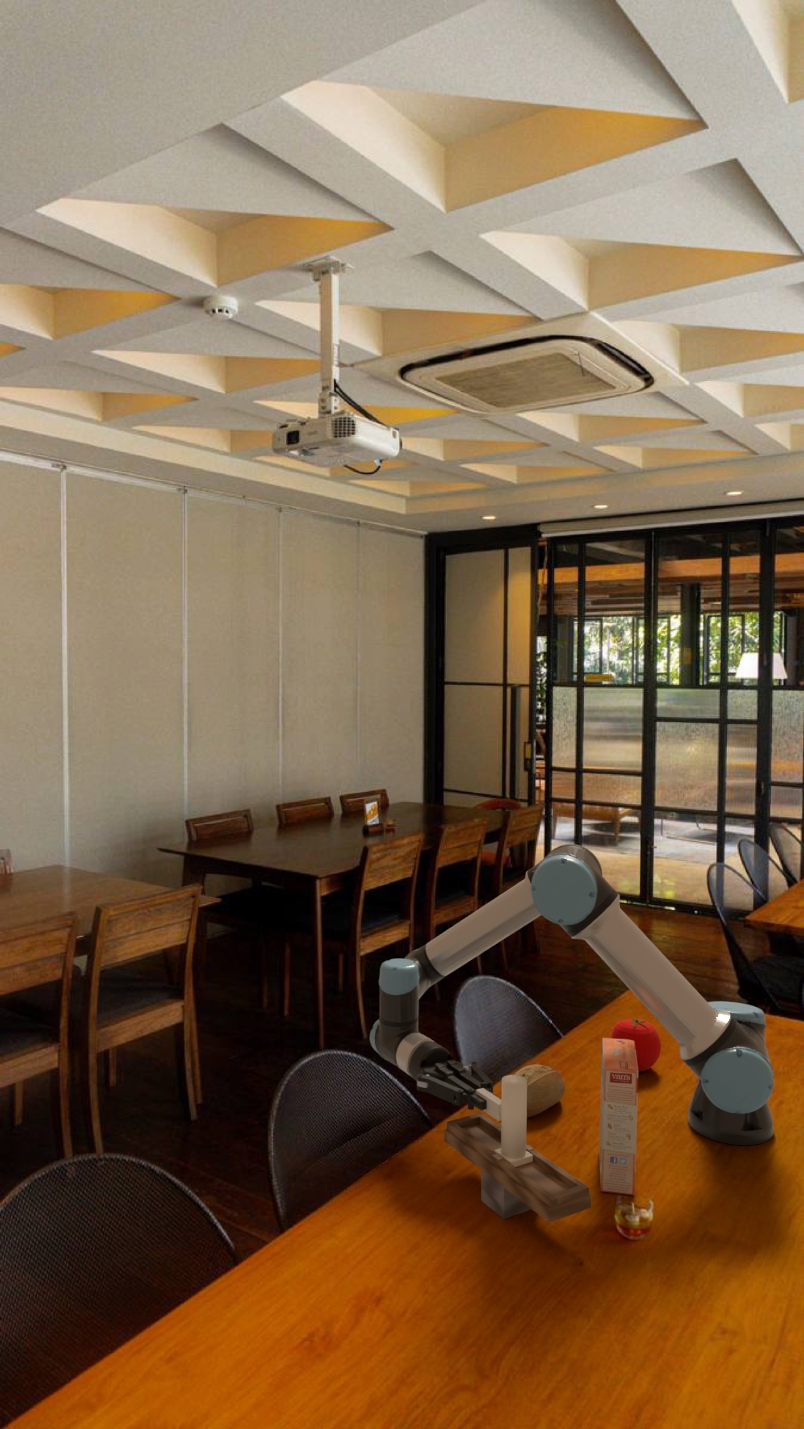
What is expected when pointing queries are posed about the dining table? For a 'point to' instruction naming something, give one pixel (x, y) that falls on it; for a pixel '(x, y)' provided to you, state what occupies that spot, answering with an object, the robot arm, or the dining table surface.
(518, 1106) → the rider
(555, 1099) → the bread roll
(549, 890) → the robot arm
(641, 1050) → the tomato
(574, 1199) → the beam
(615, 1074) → the cracker box
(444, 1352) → the dining table surface
